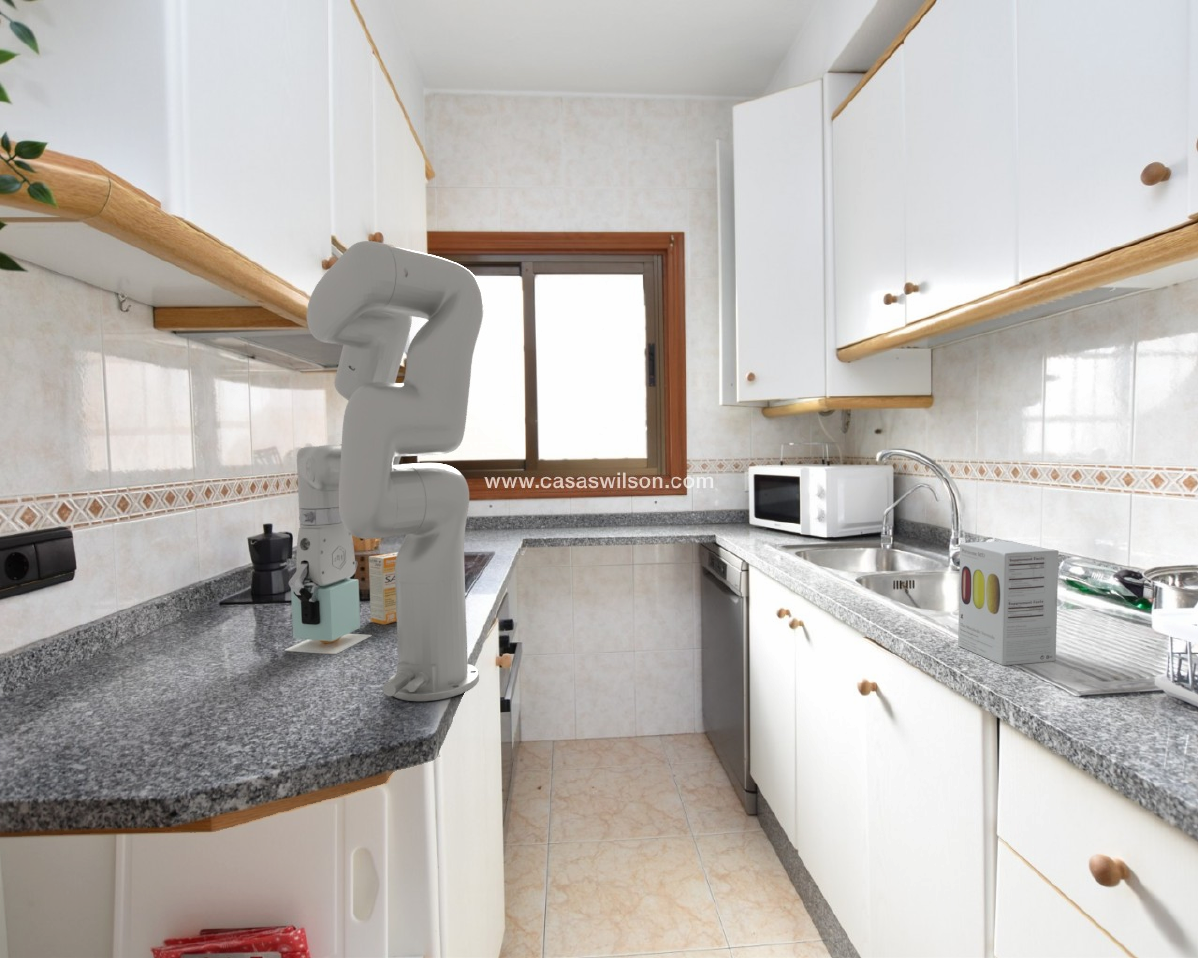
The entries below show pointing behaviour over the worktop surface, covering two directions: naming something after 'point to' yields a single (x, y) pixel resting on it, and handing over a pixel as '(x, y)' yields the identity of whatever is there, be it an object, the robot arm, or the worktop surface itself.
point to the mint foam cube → (330, 612)
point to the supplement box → (382, 588)
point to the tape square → (329, 648)
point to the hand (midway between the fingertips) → (327, 616)
